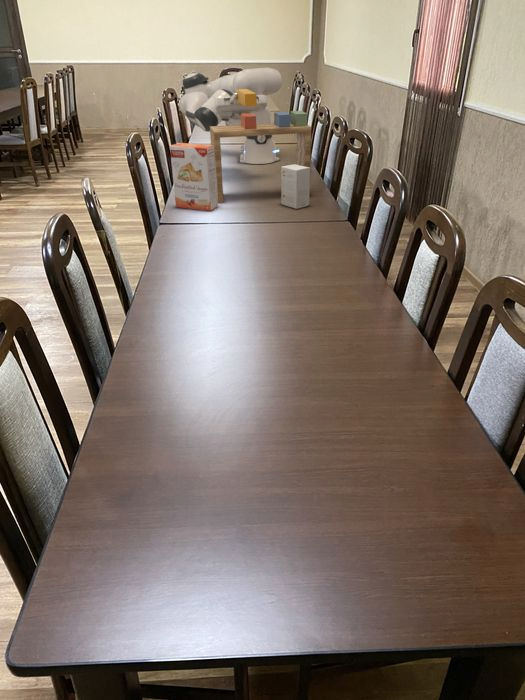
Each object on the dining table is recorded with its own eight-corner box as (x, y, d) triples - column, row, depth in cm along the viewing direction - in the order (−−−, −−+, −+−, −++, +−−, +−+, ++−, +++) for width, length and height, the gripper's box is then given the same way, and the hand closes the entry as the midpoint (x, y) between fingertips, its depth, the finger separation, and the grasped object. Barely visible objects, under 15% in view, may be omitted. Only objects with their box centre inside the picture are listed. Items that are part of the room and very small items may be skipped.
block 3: (290, 123, 194) (290, 111, 192) (301, 122, 194) (301, 110, 192) (295, 126, 187) (296, 114, 185) (307, 126, 188) (307, 113, 186)
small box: (309, 205, 188) (310, 167, 181) (296, 209, 184) (296, 170, 178) (294, 201, 193) (294, 163, 186) (280, 204, 190) (280, 166, 183)
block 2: (274, 124, 193) (274, 112, 191) (285, 123, 193) (285, 111, 191) (279, 127, 186) (279, 114, 184) (290, 126, 187) (290, 114, 185)
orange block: (236, 101, 204) (235, 89, 202) (246, 100, 205) (246, 88, 203) (245, 106, 187) (244, 94, 185) (256, 106, 188) (256, 93, 186)
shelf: (214, 194, 203) (209, 126, 191) (301, 188, 208) (302, 121, 196) (218, 202, 193) (213, 131, 181) (309, 196, 198) (311, 126, 186)
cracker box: (175, 208, 188) (168, 145, 177) (183, 203, 193) (177, 142, 182) (210, 211, 184) (206, 147, 173) (218, 207, 188) (214, 144, 178)
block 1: (241, 125, 191) (240, 113, 189) (252, 125, 191) (251, 113, 189) (245, 129, 184) (244, 116, 182) (256, 128, 185) (256, 116, 183)
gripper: (265, 117, 215) (271, 101, 202) (214, 120, 212) (217, 104, 198) (263, 101, 215) (269, 84, 201) (212, 104, 212) (215, 87, 198)
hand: (242, 94), depth 200 cm, fingers closed on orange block, 4 cm apart
